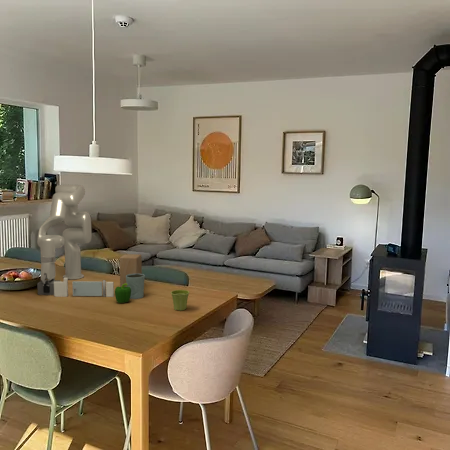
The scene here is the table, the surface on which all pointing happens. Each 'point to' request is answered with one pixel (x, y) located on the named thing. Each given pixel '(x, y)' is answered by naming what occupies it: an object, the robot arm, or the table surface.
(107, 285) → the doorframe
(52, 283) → the dark grey block
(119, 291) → the bell pepper
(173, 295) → the plant pot
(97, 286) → the door
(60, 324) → the table surface
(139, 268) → the wooden block
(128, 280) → the grey blue cup
